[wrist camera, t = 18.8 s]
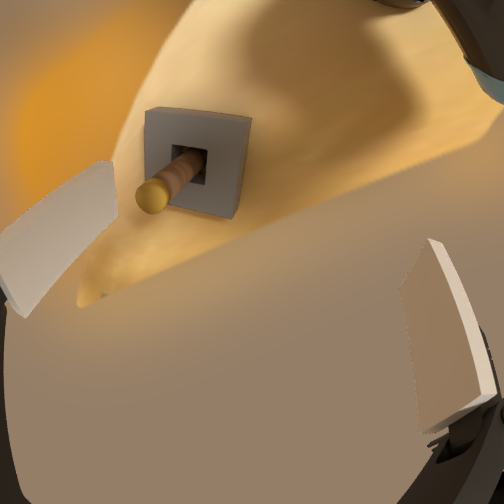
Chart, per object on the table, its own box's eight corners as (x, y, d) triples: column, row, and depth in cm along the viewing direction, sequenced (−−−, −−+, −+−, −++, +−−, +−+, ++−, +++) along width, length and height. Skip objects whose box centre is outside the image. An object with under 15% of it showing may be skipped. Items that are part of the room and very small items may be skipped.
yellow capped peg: (210, 147, 42) (163, 187, 30) (208, 169, 45) (163, 217, 33) (187, 143, 43) (134, 182, 30) (186, 165, 45) (136, 210, 33)
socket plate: (251, 118, 38) (245, 122, 35) (238, 207, 48) (231, 219, 45) (157, 106, 39) (145, 111, 36) (156, 190, 49) (145, 199, 46)
